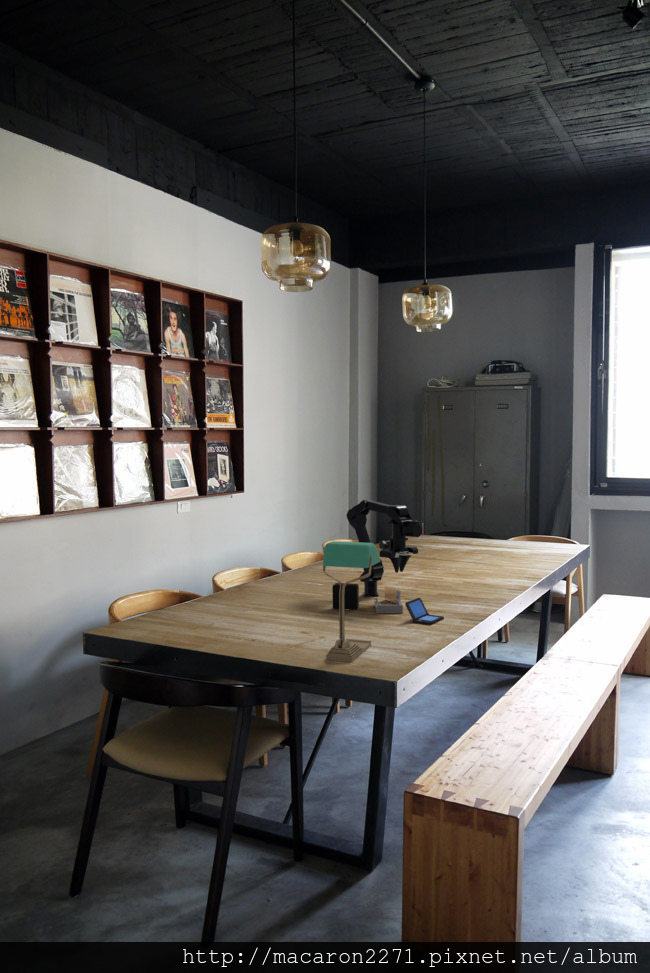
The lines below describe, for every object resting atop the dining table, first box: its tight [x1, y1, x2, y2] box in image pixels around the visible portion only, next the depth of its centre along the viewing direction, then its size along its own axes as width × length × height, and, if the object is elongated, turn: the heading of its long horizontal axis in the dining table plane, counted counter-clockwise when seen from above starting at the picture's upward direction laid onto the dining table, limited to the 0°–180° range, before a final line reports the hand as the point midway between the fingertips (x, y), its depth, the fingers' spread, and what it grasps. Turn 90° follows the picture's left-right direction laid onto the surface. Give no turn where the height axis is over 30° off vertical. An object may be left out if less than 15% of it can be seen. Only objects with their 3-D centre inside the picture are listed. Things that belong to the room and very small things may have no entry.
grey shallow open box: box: [374, 597, 404, 614], centre depth 303 cm, size 14×10×3 cm
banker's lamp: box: [322, 540, 382, 663], centre depth 240 cm, size 16×21×35 cm
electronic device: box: [331, 582, 360, 611], centre depth 304 cm, size 4×10×10 cm, turn 78°
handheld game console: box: [404, 597, 445, 626], centre depth 283 cm, size 12×11×7 cm
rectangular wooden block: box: [384, 586, 402, 604], centre depth 315 cm, size 11×2×6 cm, turn 26°
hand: (399, 572), depth 319 cm, fingers open, 3 cm apart
